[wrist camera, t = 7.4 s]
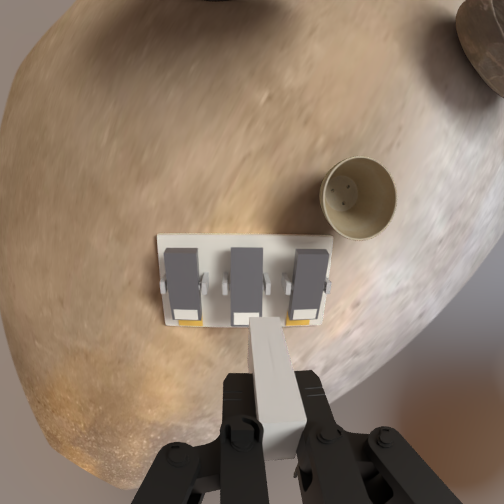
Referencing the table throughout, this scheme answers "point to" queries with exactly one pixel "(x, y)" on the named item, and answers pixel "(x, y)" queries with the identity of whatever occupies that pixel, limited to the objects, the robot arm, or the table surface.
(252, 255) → the rocker
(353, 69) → the table surface
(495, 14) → the bowl
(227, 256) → the switch unit
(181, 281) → the rocker
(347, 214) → the flower pot
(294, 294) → the rocker
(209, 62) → the table surface
